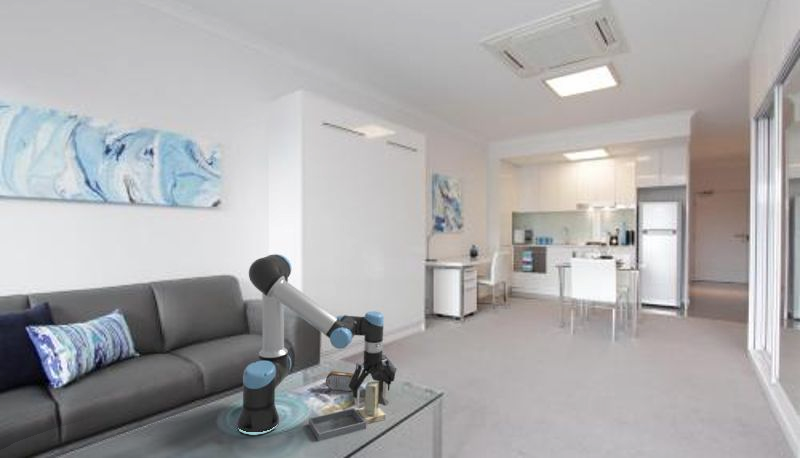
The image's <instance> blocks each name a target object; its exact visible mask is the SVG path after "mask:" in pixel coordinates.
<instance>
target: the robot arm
mask: <svg viewBox="0 0 800 458" xmlns="http://www.w3.org/2000/svg"><path fill="white" fill-rule="evenodd" d="M291 273H292V264H291V262H290V260H289V259H288V258H287V257H286V256H284V255H282V254H280V253H279V254H276V253H275V254H269V255H266V256H264V257H260V258H257V259H255V261H253V262H252V263H251V265H250V267H249V269H248V279H249V281H250V283H251V284H252V285H253V286H254V287H255V289H257V290H258V291H259V292H261V293H262V295H261V297H262V300H261V301H262V306H261V307H262V316H261V317H262V349H260V351H259V352H258V361H255V362H251V363H250V364H248V365H247V366H246V367H245V368H244V370H243V376H242V408H241V412H240V415H239V417H238V421H237V429H238V428H239V429H241V430H243V431H246V432H263V431H267V430H270V429H272V428H273V427H275V426H276V425H277V424H278V423H279V424H280V416H279V412H278V410H277V407H276V405H275V400H276V398H275V397H276V395H275V394H276V388H277V387H279V385H280V384H281V383H282V382H283V381H284V380H285V379H286V378H287V377H288V375H289V374H290V373H289V372H290V371H291V368H292V359H291V357H290V355H289V354H288V352H289V351H288V349H287V348H286V347H285V307H286V309H287V308H288V309H289V310H290V311H291V312H293V313H294V314H296V315H297V316H299V317H300V318H301V319H302V320H304V321H306V322H307V323H308V324H310V325H311V326H312V327H313V328H315V329H316V330H318V331H319V332H320V333H322V334H323V335H324V336H326V337H327V338H328V339H329V342H330V344H331V346H332V347H333V348H335V349H338V350H343V349H345V348H346V347H348V345H350V344H351V343H352V341H353V338H354V337H355V336H363V337H364V343H363V362H362V363H361V364H360V363H356V364H355V370H354V372H353V374H354V375H353V377H352V379H351V382H350V384H349V388H350V389H351V390H353V391H352V396H353V398H354V405H355V406H356V407H359V406H360V394H361V393H360V392H361V391H360V389H359V388H360V387H361V385H362V384H363V382H364V381H365V379H366V377H368V376H369V375H371V374H372V373H377V372H379V374H380V375H381V376H382V377H383V379H384V380H385V381H386V382H383V398H384V399H385V400H388V393H389V391H390V386H391V384H392V382H394V381H395V378H393V375H392V373H391V370H390V367H389V361H390V360H389V359H388V360H389V361H388V360H386V359H384V360H382V355H383V344H384V342H383V340H384V314H383V313H382V312H380V311H376V310H375V311H367V312H366V313H365V316H358V315H357V316H354V315H348V314H347V315H346V314H344V315H337V316H335V315H333V314H332V313H331V312H329V311H328V310H327V309H325V308H324V307H323V306H321V305H320V304H318V303H317V302H316V301H314V300H313V299H311V298H310V297H309V296H307V295H306V294H305V293H303V292H302V291H301V290H299V289H298V288H296V287H295V286H294V285H292V284H291V283H290V282H289V279H288V278H289V277H290V276H291ZM382 364H383V365H384V367H385V370H386V372H387V375H388V377H389V378H387V377H386V375H385V374H384V373H383V371H382V370H381V368H380V367H381V366H382ZM391 381H392V382H391ZM279 424H278V425H279Z"/></svg>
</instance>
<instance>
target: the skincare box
mask: <svg viewBox="0 0 800 458" xmlns="http://www.w3.org/2000/svg"><path fill="white" fill-rule="evenodd" d="M364 394H365V395H364V396H365V398H364V407H365V415H372V416H375V414H376V412H377V410H378V407H379V403H378V400H379V381H376V380H373V379H369V380H368V381H367V383H366V384H365V393H364Z"/></svg>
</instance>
